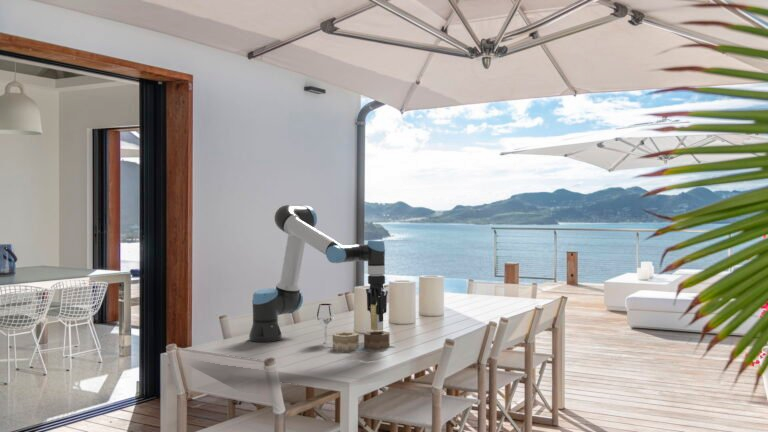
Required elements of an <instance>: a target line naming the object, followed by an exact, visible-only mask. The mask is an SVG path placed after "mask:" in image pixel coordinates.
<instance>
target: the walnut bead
mask: <svg viewBox="0 0 768 432" xmlns="http://www.w3.org/2000/svg"><path fill="white" fill-rule="evenodd" d="M390 337H391V336H390V332H389V331H385V330H377V331H376V330H369V331H365V332H364V333H363V342H364V347H365V348H368V349H381V350H385V349H384V348H388V347H389V346H391V345H390V343H391V342H390ZM388 349H389V348H388Z"/></svg>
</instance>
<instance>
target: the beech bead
mask: <svg viewBox="0 0 768 432" xmlns="http://www.w3.org/2000/svg"><path fill="white" fill-rule="evenodd" d="M359 343H360V342H359V333H358V332H353V331H342V332H335V333H333V334H332V347H333V349H332V350H334V349H335V351H338V350H345V351H349V350H355V349H357V348H358V347H359Z"/></svg>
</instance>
